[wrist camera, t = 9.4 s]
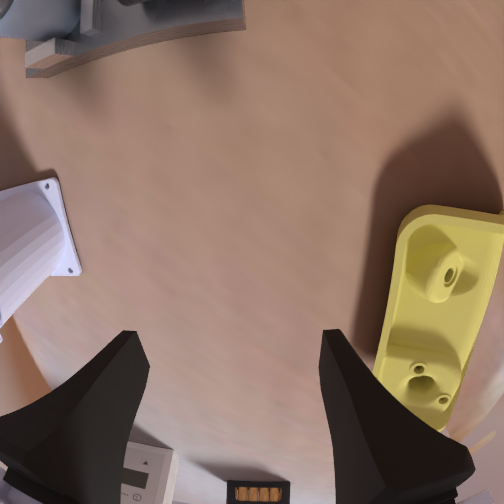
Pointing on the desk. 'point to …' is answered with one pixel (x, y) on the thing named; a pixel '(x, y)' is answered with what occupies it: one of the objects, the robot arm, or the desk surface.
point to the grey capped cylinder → (38, 18)
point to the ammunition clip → (267, 492)
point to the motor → (129, 30)
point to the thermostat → (148, 474)
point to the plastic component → (437, 305)
